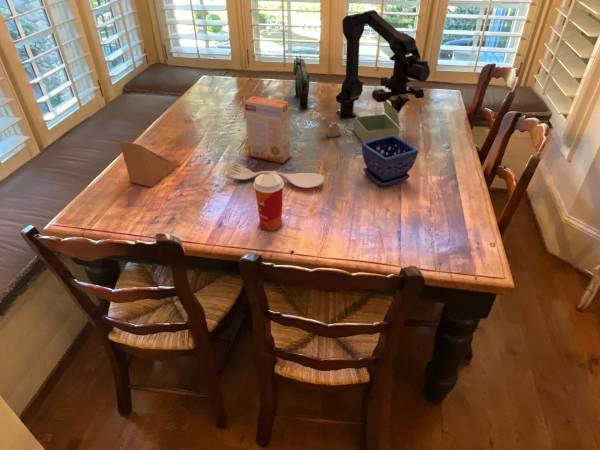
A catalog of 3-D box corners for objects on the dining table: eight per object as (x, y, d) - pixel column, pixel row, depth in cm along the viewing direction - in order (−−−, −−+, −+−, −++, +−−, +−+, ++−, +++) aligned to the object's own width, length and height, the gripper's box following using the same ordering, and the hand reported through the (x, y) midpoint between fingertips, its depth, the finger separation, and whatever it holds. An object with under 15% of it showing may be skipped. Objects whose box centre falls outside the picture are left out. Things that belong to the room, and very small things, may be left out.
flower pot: (381, 192, 138) (385, 159, 131) (357, 173, 148) (360, 141, 140) (414, 182, 143) (420, 149, 136) (389, 164, 152) (393, 133, 145)
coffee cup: (256, 216, 128) (253, 172, 119) (284, 215, 129) (283, 171, 120) (256, 234, 122) (252, 189, 112) (286, 232, 122) (284, 187, 113)
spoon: (233, 170, 150) (232, 161, 148) (325, 178, 145) (325, 169, 143) (225, 183, 143) (224, 174, 141) (321, 193, 138) (321, 184, 136)
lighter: (338, 134, 172) (339, 114, 167) (339, 135, 171) (340, 116, 166) (320, 135, 171) (321, 116, 166) (321, 137, 169) (322, 118, 165)
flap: (382, 98, 168) (383, 98, 168) (384, 112, 172) (385, 112, 172) (396, 112, 158) (397, 111, 158) (399, 126, 162) (400, 126, 162)
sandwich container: (179, 165, 153) (171, 125, 144) (151, 187, 141) (141, 145, 132) (158, 161, 155) (149, 121, 146) (130, 181, 144) (118, 140, 135)
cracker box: (290, 157, 157) (289, 101, 144) (283, 164, 153) (281, 107, 140) (256, 149, 162) (252, 94, 149) (248, 156, 158) (243, 100, 145)
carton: (353, 131, 174) (354, 117, 171) (383, 127, 176) (385, 113, 173) (365, 146, 163) (367, 132, 160) (397, 142, 166) (399, 128, 162)
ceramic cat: (292, 94, 206) (292, 50, 194) (306, 93, 207) (306, 50, 195) (297, 110, 191) (296, 64, 179) (311, 110, 191) (312, 63, 179)
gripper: (414, 65, 165) (408, 105, 175) (368, 69, 162) (364, 109, 171) (428, 75, 156) (421, 116, 166) (379, 79, 153) (375, 121, 162)
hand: (395, 115), depth 167 cm, fingers closed
